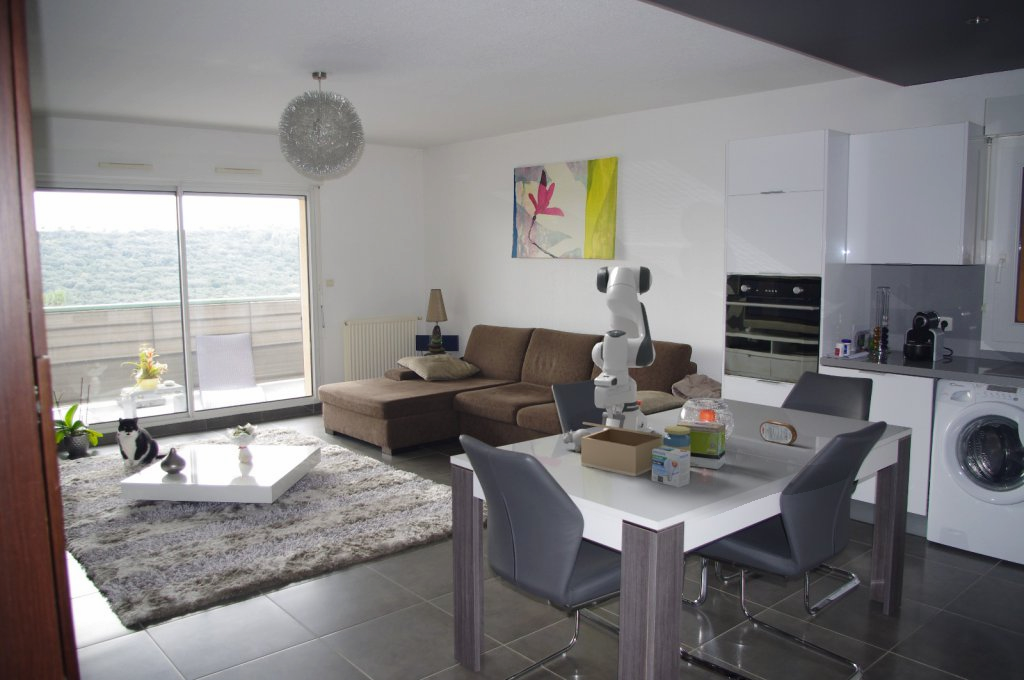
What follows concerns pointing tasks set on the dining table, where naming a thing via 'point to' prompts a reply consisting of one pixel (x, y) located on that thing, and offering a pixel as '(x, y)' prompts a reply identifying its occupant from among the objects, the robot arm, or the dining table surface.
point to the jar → (678, 437)
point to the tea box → (706, 443)
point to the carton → (619, 451)
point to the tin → (778, 432)
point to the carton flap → (621, 418)
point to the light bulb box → (671, 466)
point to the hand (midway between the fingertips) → (614, 417)
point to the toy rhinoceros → (575, 438)
